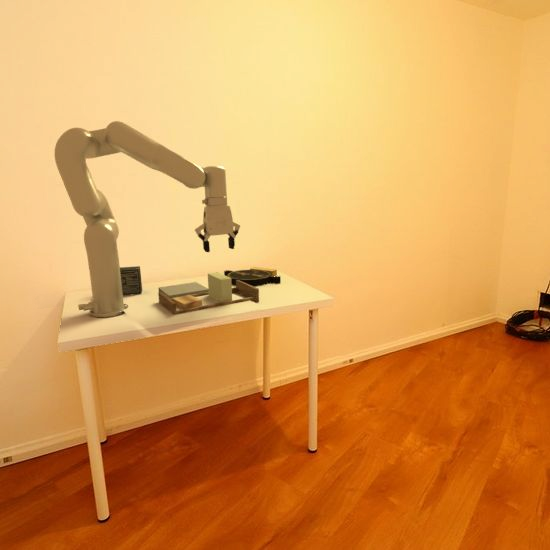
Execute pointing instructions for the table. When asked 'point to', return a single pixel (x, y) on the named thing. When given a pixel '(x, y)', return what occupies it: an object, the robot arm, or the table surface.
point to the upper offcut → (187, 301)
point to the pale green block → (220, 287)
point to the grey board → (183, 289)
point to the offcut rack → (240, 288)
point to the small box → (131, 280)
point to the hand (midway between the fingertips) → (219, 250)
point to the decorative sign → (254, 276)
